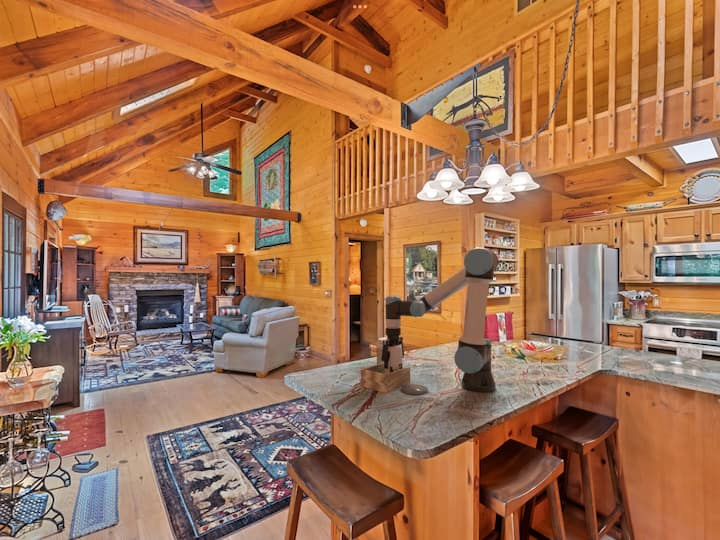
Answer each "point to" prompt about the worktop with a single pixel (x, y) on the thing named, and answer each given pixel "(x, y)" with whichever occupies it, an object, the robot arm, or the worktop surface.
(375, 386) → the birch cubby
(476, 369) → the robot arm
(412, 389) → the slate coaster
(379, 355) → the supplement tub
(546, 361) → the worktop surface
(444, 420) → the worktop surface
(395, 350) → the soya milk
